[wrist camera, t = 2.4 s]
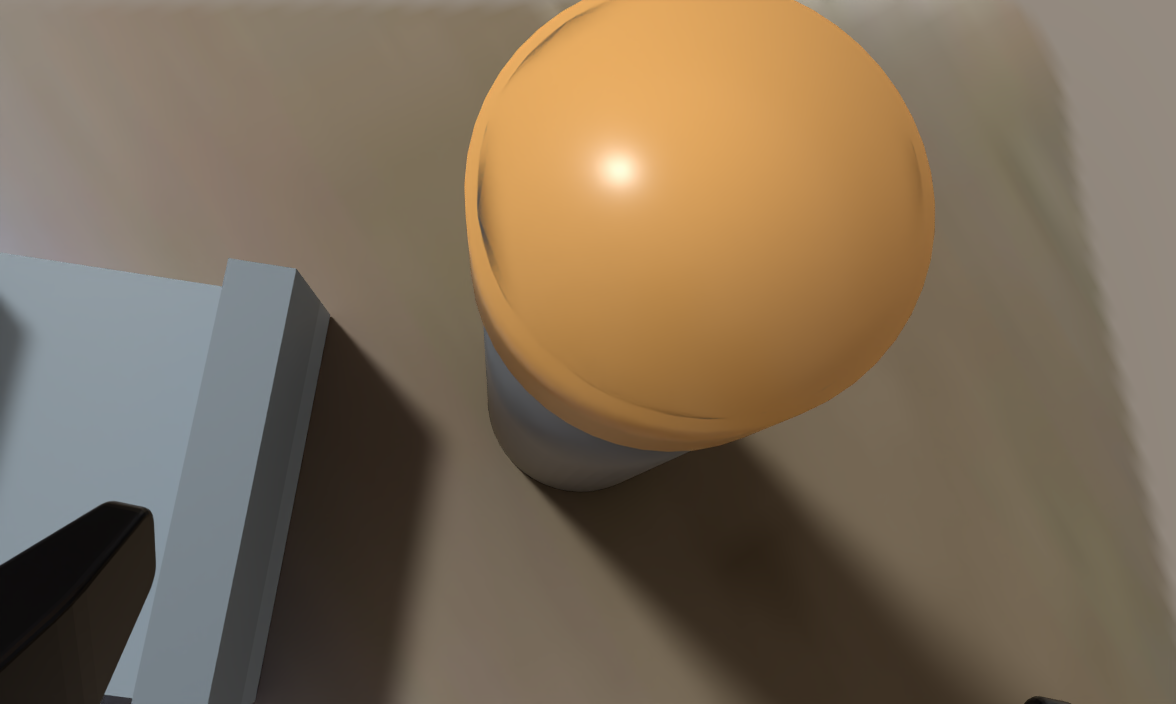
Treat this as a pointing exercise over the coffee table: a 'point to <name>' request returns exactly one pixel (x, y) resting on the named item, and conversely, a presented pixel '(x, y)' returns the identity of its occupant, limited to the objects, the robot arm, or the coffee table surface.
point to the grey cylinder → (686, 230)
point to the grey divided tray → (164, 446)
